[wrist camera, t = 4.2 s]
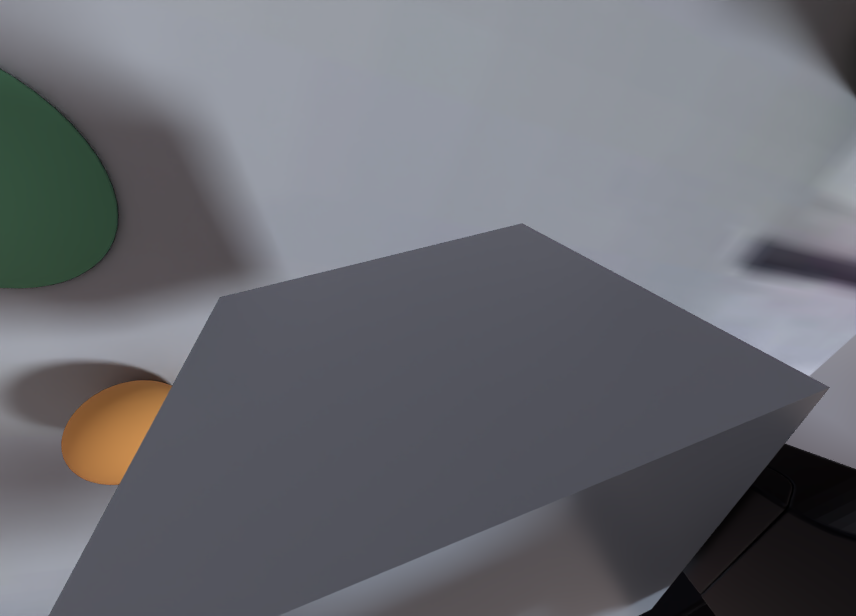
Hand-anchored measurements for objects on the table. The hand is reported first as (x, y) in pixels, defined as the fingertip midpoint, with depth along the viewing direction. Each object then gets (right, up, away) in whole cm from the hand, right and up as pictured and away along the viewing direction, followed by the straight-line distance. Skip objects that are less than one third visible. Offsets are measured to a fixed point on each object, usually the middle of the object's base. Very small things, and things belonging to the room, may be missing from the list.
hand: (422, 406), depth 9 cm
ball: (-15, -4, +8) cm, 17 cm away
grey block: (0, +1, +1) cm, 2 cm away
